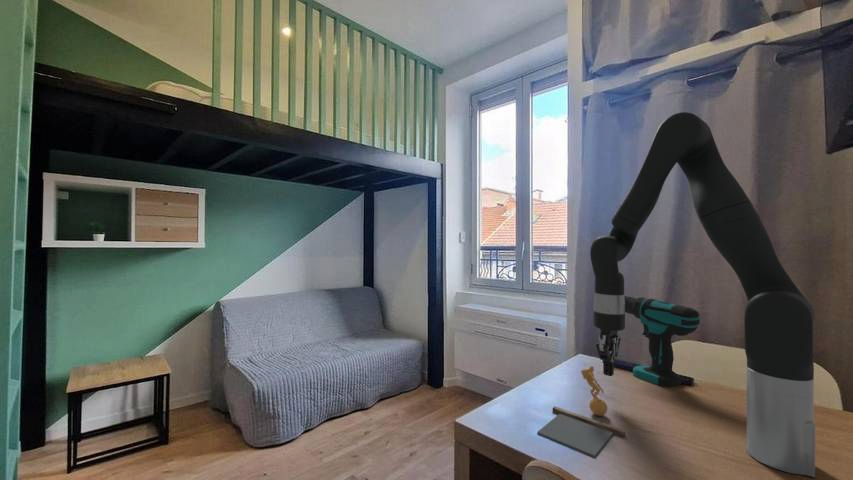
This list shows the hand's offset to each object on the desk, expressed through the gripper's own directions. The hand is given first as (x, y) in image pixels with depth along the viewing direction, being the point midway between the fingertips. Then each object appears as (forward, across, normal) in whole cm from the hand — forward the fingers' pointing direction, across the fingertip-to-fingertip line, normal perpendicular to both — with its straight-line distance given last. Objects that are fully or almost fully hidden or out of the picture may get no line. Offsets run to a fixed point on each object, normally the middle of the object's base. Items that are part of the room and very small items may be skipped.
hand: (608, 374), depth 93 cm
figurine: (+7, -11, 0) cm, 13 cm away
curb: (+7, -16, 0) cm, 18 cm away
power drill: (+7, +28, -4) cm, 29 cm away
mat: (+7, -23, 0) cm, 24 cm away
